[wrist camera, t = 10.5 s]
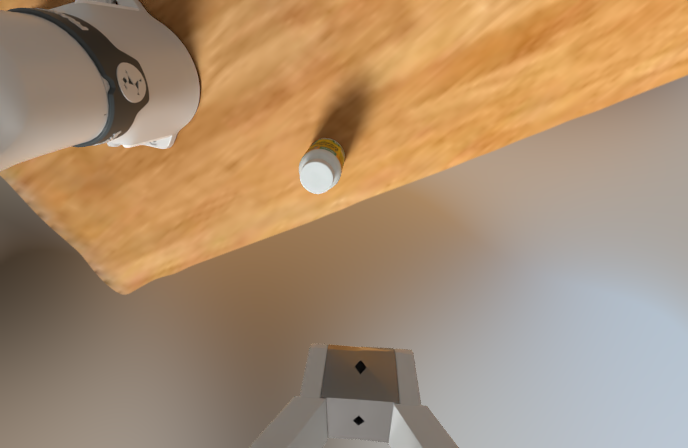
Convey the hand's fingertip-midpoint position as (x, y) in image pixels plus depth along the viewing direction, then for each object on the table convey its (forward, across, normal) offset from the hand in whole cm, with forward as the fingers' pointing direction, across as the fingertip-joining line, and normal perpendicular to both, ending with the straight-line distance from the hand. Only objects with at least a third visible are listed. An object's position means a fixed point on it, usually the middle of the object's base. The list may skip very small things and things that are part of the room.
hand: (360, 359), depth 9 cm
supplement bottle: (+37, +6, +4) cm, 38 cm away
